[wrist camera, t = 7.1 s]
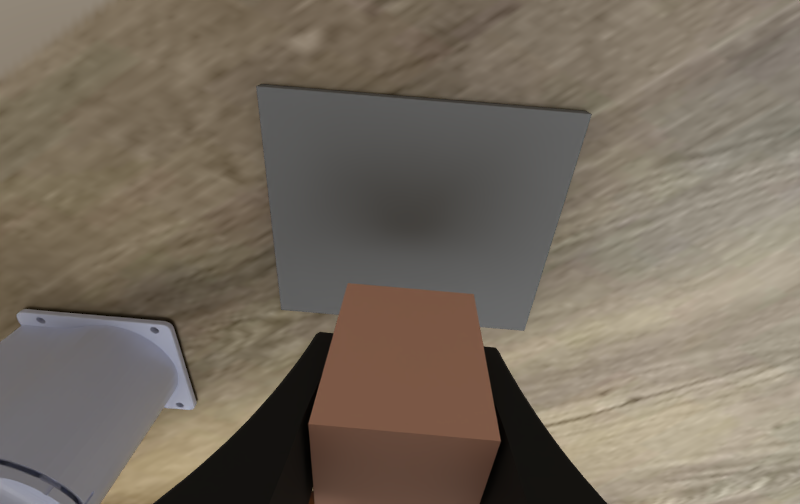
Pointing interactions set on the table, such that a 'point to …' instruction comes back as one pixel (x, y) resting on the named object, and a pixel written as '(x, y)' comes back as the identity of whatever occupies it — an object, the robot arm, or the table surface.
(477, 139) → the mat
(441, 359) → the block
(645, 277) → the table surface
